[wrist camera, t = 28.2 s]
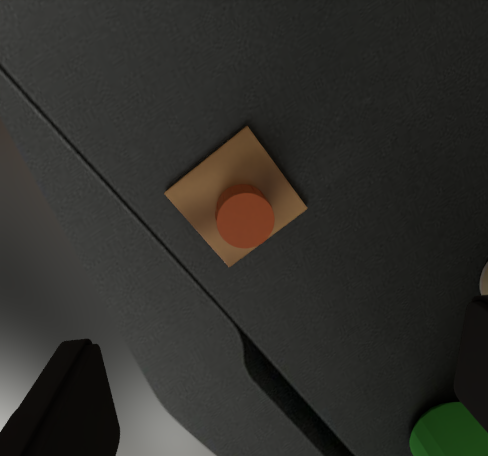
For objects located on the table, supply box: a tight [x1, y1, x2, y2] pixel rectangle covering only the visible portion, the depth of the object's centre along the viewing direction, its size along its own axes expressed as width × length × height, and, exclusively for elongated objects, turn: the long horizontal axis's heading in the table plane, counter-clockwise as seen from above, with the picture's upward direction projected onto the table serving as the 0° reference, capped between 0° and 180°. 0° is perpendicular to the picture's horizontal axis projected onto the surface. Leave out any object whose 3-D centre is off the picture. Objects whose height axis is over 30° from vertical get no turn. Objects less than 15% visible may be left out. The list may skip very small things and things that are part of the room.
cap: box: [215, 184, 275, 249], centre depth 25 cm, size 4×4×3 cm
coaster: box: [164, 126, 307, 267], centre depth 26 cm, size 8×8×1 cm
